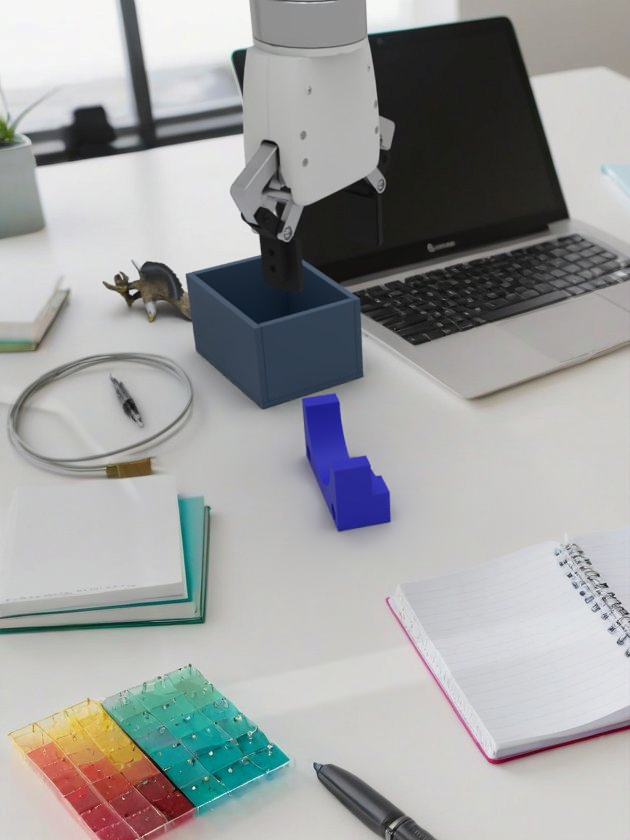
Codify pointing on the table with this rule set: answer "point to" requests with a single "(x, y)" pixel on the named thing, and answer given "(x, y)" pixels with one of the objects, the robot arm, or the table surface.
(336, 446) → the cable clip
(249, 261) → the basket
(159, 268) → the eagle figurine
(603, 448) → the table surface
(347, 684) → the table surface
